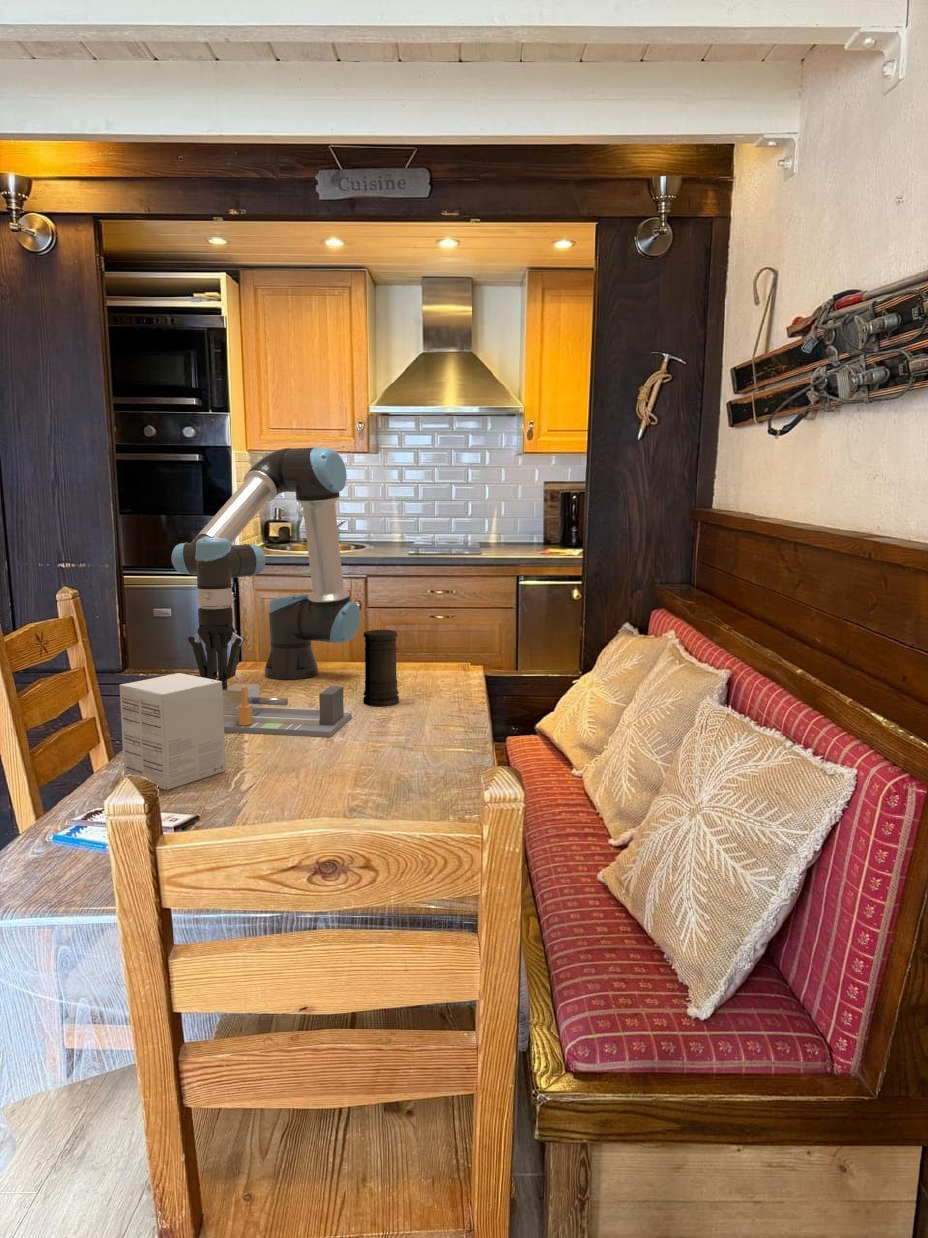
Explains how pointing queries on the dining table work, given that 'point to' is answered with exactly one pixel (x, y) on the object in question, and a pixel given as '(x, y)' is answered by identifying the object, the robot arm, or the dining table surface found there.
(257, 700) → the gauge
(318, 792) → the dining table surface
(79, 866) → the dining table surface
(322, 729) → the grey slider board
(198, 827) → the dining table surface
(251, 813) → the dining table surface
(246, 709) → the orange t-shaped stamp
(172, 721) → the supplement box
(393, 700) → the container
